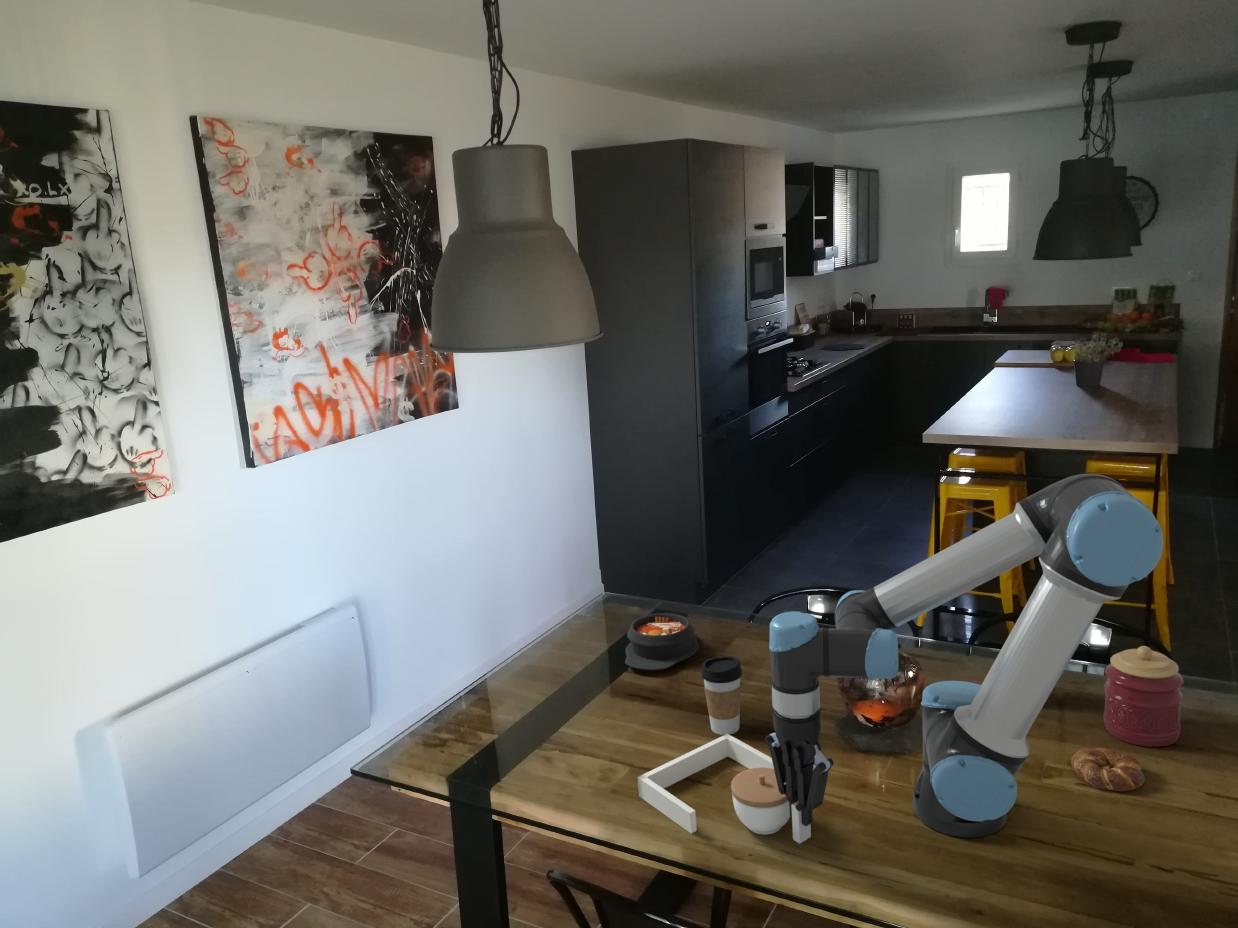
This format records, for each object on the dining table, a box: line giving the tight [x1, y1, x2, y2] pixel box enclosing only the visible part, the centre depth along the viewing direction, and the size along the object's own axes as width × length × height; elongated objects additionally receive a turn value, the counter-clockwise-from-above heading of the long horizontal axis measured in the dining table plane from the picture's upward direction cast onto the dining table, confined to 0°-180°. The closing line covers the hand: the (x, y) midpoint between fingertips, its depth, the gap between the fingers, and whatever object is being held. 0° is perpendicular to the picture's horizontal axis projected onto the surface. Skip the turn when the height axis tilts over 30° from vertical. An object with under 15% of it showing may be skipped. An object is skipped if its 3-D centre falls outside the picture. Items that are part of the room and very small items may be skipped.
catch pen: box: [637, 734, 774, 835], centre depth 167 cm, size 15×22×4 cm
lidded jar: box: [730, 768, 791, 836], centre depth 155 cm, size 11×11×9 cm
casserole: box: [624, 612, 700, 671], centre depth 226 cm, size 25×19×8 cm
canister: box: [1103, 645, 1184, 748], centre depth 173 cm, size 13×13×18 cm
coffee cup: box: [700, 655, 743, 736], centre depth 188 cm, size 8×8×15 cm
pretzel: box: [1070, 747, 1146, 792], centre depth 161 cm, size 12×11×4 cm
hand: (802, 837), depth 149 cm, fingers closed
